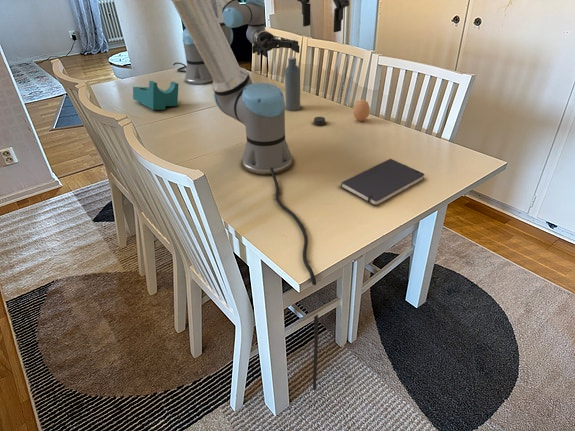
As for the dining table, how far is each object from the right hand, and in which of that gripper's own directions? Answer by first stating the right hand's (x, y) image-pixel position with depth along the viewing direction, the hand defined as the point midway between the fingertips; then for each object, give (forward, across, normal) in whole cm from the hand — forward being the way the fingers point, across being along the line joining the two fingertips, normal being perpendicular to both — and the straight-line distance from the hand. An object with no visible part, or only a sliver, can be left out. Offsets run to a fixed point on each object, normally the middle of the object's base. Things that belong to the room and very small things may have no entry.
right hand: (321, 28), depth 131 cm
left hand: (+13, +27, -7) cm, 31 cm away
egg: (+33, -9, -13) cm, 36 cm away
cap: (+31, 0, 0) cm, 31 cm away
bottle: (+33, +18, -4) cm, 38 cm away
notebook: (+33, -42, +18) cm, 57 cm away
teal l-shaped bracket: (+33, +64, +32) cm, 79 cm away
